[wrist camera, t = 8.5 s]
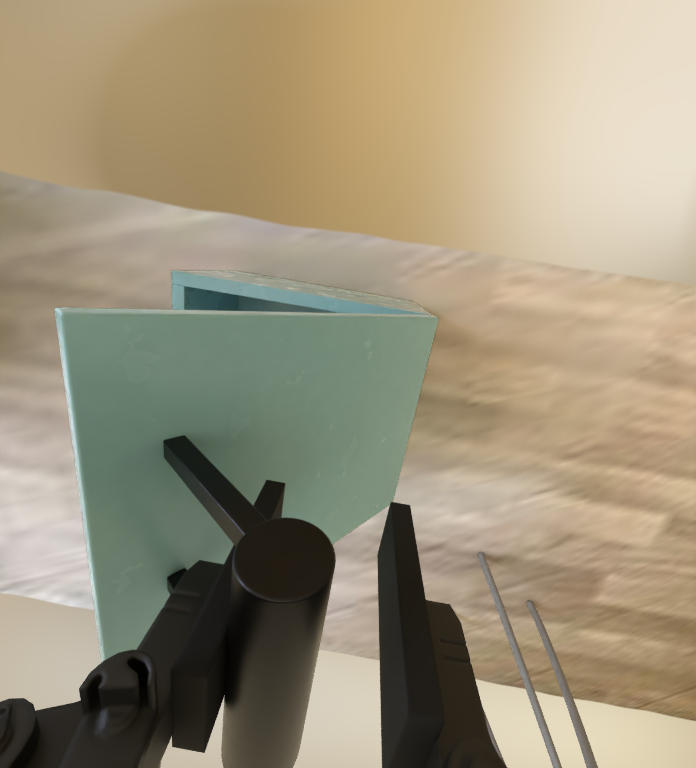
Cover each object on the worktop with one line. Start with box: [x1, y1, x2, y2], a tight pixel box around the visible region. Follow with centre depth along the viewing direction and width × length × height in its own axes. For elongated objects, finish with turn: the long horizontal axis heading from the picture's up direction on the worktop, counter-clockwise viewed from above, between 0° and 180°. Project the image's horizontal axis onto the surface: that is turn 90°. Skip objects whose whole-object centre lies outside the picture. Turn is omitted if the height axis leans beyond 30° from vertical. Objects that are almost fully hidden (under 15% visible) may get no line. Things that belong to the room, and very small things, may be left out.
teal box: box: [171, 270, 432, 315], centre depth 30 cm, size 18×15×11 cm
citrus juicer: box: [478, 553, 598, 768], centre depth 29 cm, size 11×10×30 cm
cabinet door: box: [55, 307, 439, 768], centre depth 15 cm, size 19×15×8 cm
